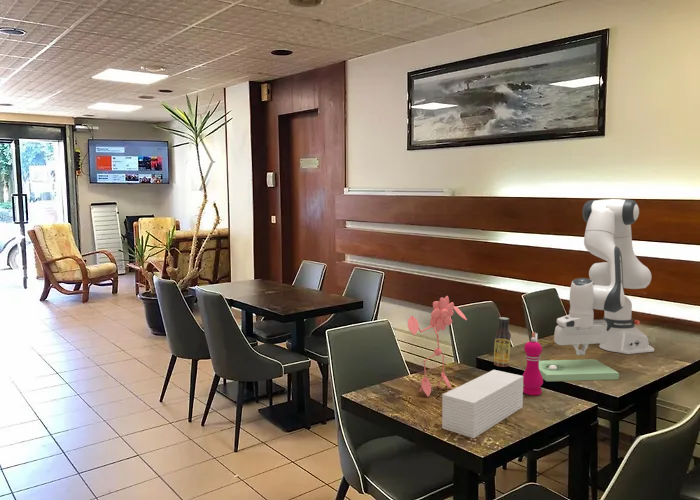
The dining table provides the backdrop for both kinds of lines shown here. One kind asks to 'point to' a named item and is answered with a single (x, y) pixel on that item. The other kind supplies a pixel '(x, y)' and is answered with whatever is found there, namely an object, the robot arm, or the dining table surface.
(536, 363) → the pepper mill
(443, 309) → the pink humanoid figure
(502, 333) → the sauce bottle
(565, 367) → the mat
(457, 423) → the stack of papers
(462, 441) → the dining table surface
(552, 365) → the ball
